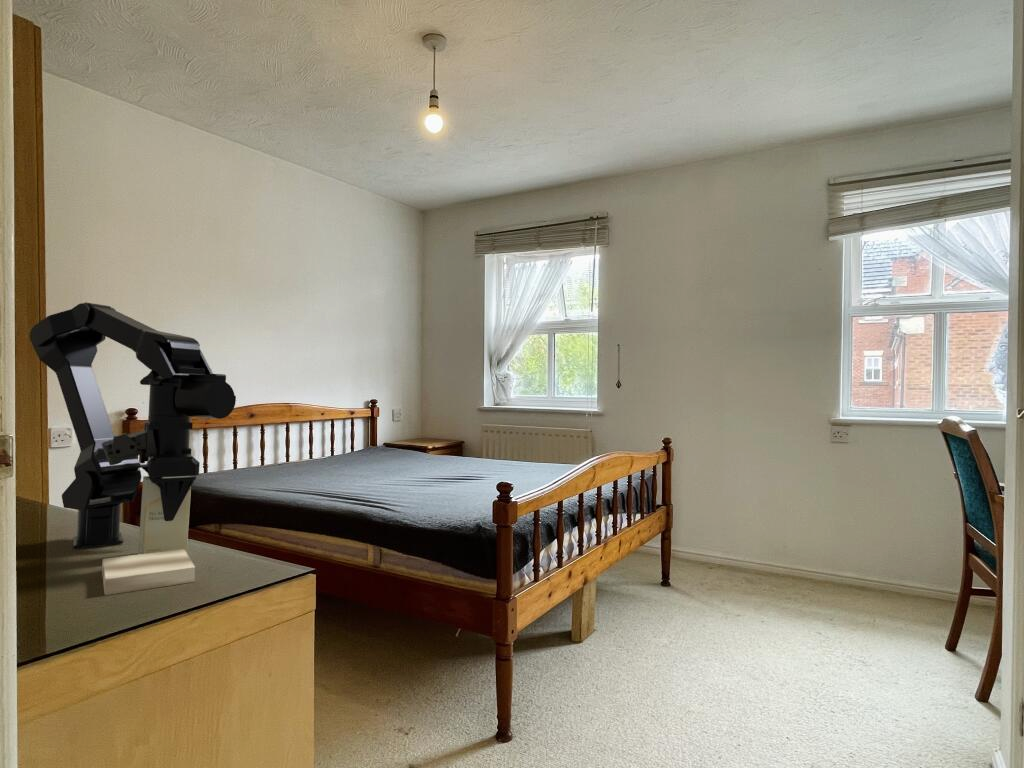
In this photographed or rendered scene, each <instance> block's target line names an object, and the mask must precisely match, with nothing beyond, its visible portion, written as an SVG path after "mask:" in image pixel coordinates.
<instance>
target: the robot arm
mask: <svg viewBox="0 0 1024 768" xmlns="http://www.w3.org/2000/svg"><path fill="white" fill-rule="evenodd" d="M106 338H109V339H110V340H113V341H114V342H116V343H119V344H120V345H122V346H124V347H126V348H128V349H130V350H131V351H132V352H134V353H135V357H136V359H137V360H138V361H139V363H141V364H143V365H144V366H145V367H146V368H147V369H149V370H150V371H149V373H148V374H147V375H146V376H143V377H142V379H140V381H139V383H140V385H144V386H149V399H148V420H146V422H144V423H143V424H144V425H143V430H139V431H137V432H134V433H133V432H132V433H129V434H127V433H126V432H123V433H122V434H120V435H115V433H114V430H113V427H112V422H111V421H110V417H109V414H108V411H107V408H106V405H105V403H104V400H103V397H102V394H101V391H100V387H99V385H98V381H97V378H96V375H95V372H94V370H93V365H92V364H93V362H94V360H95V357H96V355H97V353H98V345H99V344H102V342H104V341H105V340H106ZM29 340H30V343H31V345H32V347H33V349H34V352H35V353H36V355H37V357H38V360H40V361H41V362H42V363H43V364H44V365H45V366H47V367H48V369H51V370H52V371H53V372H54V373H55V374H56V377H57V380H58V384H59V386H60V390H61V393H62V396H63V399H64V402H65V403H64V404H65V405H66V408H67V411H68V415H69V418H70V421H71V425H72V427H73V431H74V434H75V437H76V440H77V442H78V446H79V450H80V452H79V455H78V457H77V460H76V463H75V466H74V468H73V470H74V476H75V478H74V480H73V481H72V482H71V483H70V485H69V486H68V487H66V489H65V490H64V492H63V493H62V494H61V500H62V505H63V508H65V509H71V510H77V525H76V535H75V536H74V537H73V539H72V540H73V541H72V542H73V545H72V548H73V549H82V548H83V549H84V548H90V547H91V548H92V547H102V546H112V545H119V544H123V543H124V538H123V535H122V532H120V529H121V527H120V526H121V507H122V504H125V503H132V502H135V500H136V496H137V493H138V490H139V487H140V484H141V481H142V471H141V469H142V470H143V471H145V472H146V473H147V476H148V478H149V479H150V481H152V482H153V483H154V484H156V485H157V486H158V487H159V489H160V496H161V502H162V509H163V515H164V520H165V521H172V520H173V519H174V517H175V516H176V514H177V512H178V510H179V508H180V506H181V504H182V502H183V500H184V498H185V496H186V495H187V493H188V491H189V489H190V487H191V488H192V485H193V483H194V482H195V481H196V480H197V477H198V476H199V475H200V461H198V460H197V459H196V458H195V457H194V456H193V455H192V448H191V447H190V440H191V439H190V435H191V434H190V433H191V430H193V424H194V423H193V422H192V421H191V419H192V417H193V418H203V419H204V418H205V419H217V420H218V419H220V420H222V419H224V418H227V417H228V416H229V415H231V413H232V412H233V410H235V409H234V408H235V406H236V402H237V400H236V398H237V396H236V395H235V391H234V389H233V387H232V386H231V385H230V383H228V382H227V375H226V374H222V373H213V370H212V368H211V367H210V365H209V363H208V362H207V359H206V357H205V356H204V353H203V351H202V349H201V348H200V346H201V345H200V343H199V341H198V340H196V339H195V338H193V337H190V336H185V335H181V334H177V333H169V332H165V331H160V330H157V329H155V328H153V327H151V326H149V325H146V324H144V323H142V322H140V321H138V320H136V319H134V318H133V317H130V316H128V315H125V314H123V313H121V312H119V311H117V310H116V309H115V308H113V307H111V306H109V305H105V304H100V303H99V304H98V303H92V302H87V301H86V302H83V303H82V302H81V303H79V304H77V305H75V306H74V307H72V308H70V309H67V310H64V311H63V310H62V311H59V312H56V313H53V314H49V315H48V316H46V317H44V318H43V319H41V320H39V322H38V323H36V324H35V325H33V327H32V328H31V329H30V332H29Z"/></svg>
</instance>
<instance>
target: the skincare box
mask: <svg viewBox="0 0 1024 768" xmlns="http://www.w3.org/2000/svg"><path fill="white" fill-rule="evenodd" d="M148 476H149V475H147V476H146V475H145V476H144V475H143V478H142V491H141V503H140V504H141V505H140V522H139V536H138V552H137V555H138V554H147V553H155V552H164V551H172V550H180V549H185V551H186V553H187V554H188V541H189V539H188V538H189V525H190V509H191V508H190V507H191V492H192V486H191V487H190V489H189V491H188V493H187V495H186V496H185V498H184V500H183V502H182V504H181V506H180V508H179V510H178V512H177V514H176V516H175V517H174V519H173V520H172V521H165V520H164V515H163V509H162V502H161V496H160V489H159V487H158V486H157V485H156V484H154V483H153V482H152V481H150V479H149V478H148Z"/></svg>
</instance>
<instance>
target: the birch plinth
mask: <svg viewBox="0 0 1024 768" xmlns="http://www.w3.org/2000/svg"><path fill="white" fill-rule="evenodd" d="M101 564H102V565H101V566H102V567H101V568H102V569H101V578H102V584H103V591H104V596H108V595H109V596H111V595H116V594H121V593H122V594H124V593H130V592H136V591H144V590H149V589H150V590H151V589H156V588H161V587H163V588H164V587H168V586H169V587H170V586H175V585H183V584H189V583H195V581H196V580H195V579H196V578H195V577H196V566H195V564H194V563H193V561H192V559H191V558H190V556H189V555H188V552H187V553H186V551H185V549H180V550H172V551H164V552H155V553H147V554H138V553H137V554H132V555H130V554H129V555H122V556H115V557H106V558H102V563H101Z"/></svg>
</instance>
